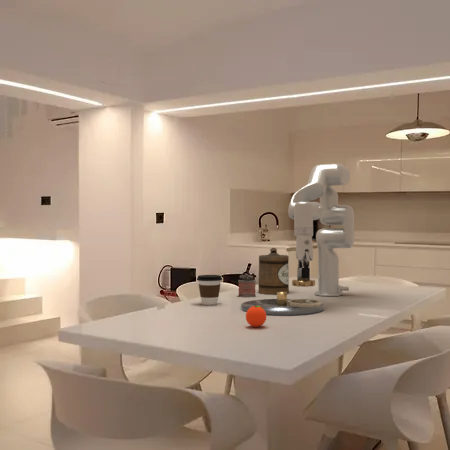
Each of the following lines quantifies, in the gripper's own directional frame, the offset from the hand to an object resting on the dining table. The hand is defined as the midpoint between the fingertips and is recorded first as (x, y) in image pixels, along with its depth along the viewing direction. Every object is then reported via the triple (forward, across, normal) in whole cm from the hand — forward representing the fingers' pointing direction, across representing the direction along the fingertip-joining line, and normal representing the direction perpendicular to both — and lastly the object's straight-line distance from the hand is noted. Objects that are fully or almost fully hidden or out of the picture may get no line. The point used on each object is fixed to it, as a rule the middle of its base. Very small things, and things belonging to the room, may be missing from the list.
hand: (303, 276), depth 220 cm
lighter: (+13, +36, +18) cm, 42 cm away
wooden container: (+13, +48, +3) cm, 50 cm away
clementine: (+13, -35, +25) cm, 45 cm away
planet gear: (+3, 0, 0) cm, 3 cm away
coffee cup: (+13, +16, +37) cm, 42 cm away
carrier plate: (+13, 0, +9) cm, 15 cm away
